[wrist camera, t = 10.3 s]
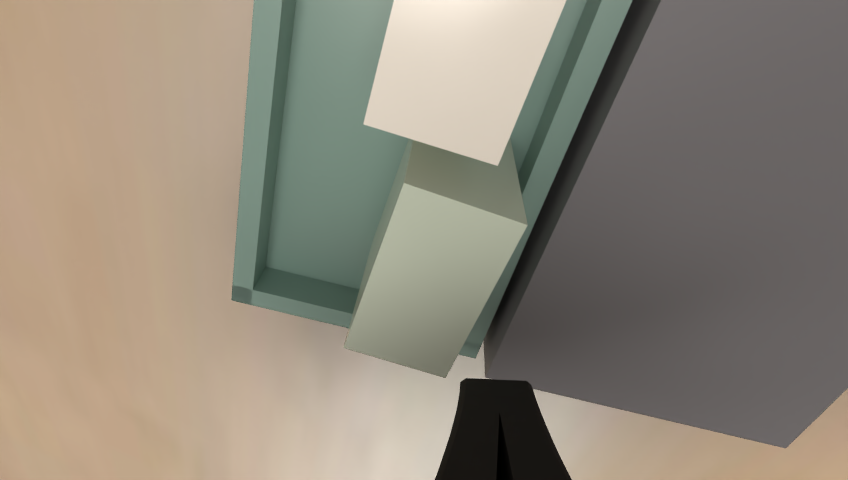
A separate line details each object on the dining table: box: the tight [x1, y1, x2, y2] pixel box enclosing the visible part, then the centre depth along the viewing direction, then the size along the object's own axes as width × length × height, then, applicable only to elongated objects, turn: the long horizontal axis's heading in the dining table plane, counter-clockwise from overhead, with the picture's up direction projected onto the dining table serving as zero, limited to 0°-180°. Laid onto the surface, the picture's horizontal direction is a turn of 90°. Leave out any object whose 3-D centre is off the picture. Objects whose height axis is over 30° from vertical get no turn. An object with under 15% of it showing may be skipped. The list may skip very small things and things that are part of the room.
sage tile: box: [344, 138, 528, 378], centre depth 13 cm, size 4×4×2 cm
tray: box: [231, 0, 632, 358], centre depth 13 cm, size 8×14×2 cm, turn 165°
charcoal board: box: [484, 0, 848, 448], centre depth 14 cm, size 10×14×2 cm
